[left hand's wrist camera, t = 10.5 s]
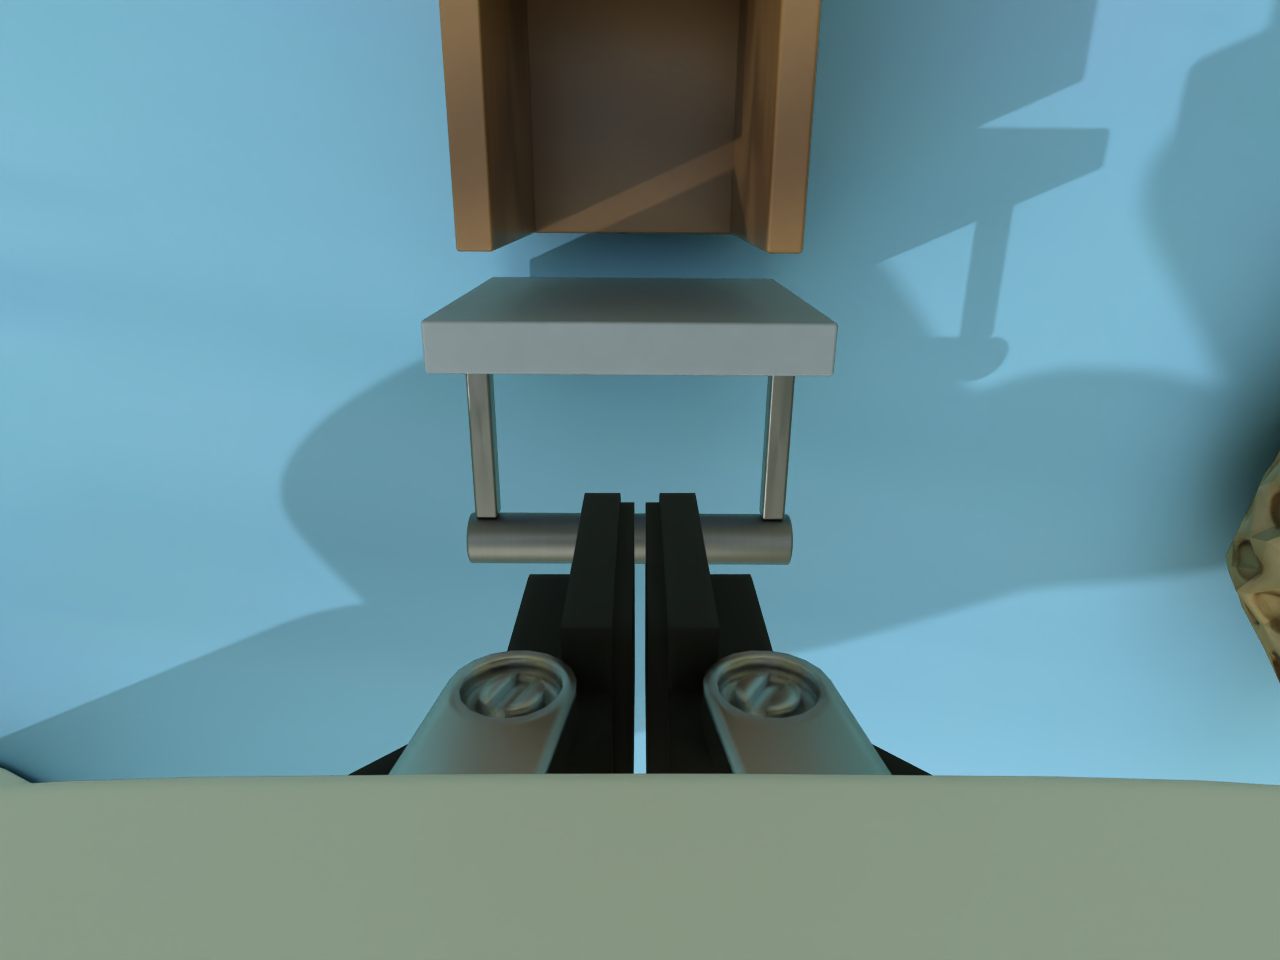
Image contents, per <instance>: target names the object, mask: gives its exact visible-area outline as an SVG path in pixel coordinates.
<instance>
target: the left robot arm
mask: <svg viewBox="0 0 1280 960" xmlns="http://www.w3.org/2000/svg"><path fill="white" fill-rule="evenodd" d="M634 697H635V563H634V502H621V496H620V493H585V495H584V500H583V506H582V511H581V517H580V522H579V528H578V533H577V539H576V544H575V550H574V555H573V561H572V566H571V572H570V574H530V575H529V578H528V581H527V584H526V588H525V591H524V594H523V598H522V601H521V605H520V608H519V612H518V615H517V619H516V622H515V626H514V629H513V633H512V636H511V640H510V643H509V647H508V650H507V651H506V652H501V653H495V654H490V655H488V656H485V657H482V658H479V659H477V660H474V661H472V662H471V663H469V664H467V665H466V666H464V667H462V668H461V669H459V670H458V671H457V673H456V674H455V675H454V676H453V677H452V678H451V679H450V680H449V682H448V683H447V685H446V686H445V688H444V689H443V691H442V692H441V694H440V695H439V697H438V699H437V700H436V702H435V703H434V705H433V706H432V708H431V709H430V711H429V713H428V714H427V716H426V717H425V719H424V720H423V722H422V723H421V725H420V726H419V728H418V730H417V731H416V733H415V734H414V736H413V737H412V739H411V740H410V742H409V743H408V744H407V745H405V746H403V747H401V748H400V749H398V750H396V751H394V752H392V753H390V754H388V755H386V756H384V757H382V758H380V759H378V760H376V761H374V762H372V763H370V764H369V765H367V766H365V767H363V768H361V769H359V770H357V771H355V772H353V773H351V774H349V775H347V776H257V777H184V778H152V779H121V780H89V781H59V782H45V783H30V782H28V781H27V780H25V779H23V778H21V777H19V776H17V775H15V774H14V773H12V772H10V771H8V770H6V769H3V768H0V960H1280V785H1264V784H1249V783H1233V782H1217V781H1197V780H1160V779H1124V778H1088V777H1044V776H933V775H931V774H929V773H927V772H925V771H923V770H921V769H919V768H917V767H915V766H913V765H912V764H910V763H908V762H906V761H904V760H902V759H900V758H898V757H896V756H894V755H892V754H890V753H888V752H886V751H884V750H882V749H880V748H879V747H877V746H875V745H873V744H872V743H871V742H870V740H869V739H868V737H867V736H866V734H865V733H864V731H863V730H862V728H861V726H860V725H859V723H858V722H857V720H856V719H855V717H854V716H853V714H852V712H851V711H850V709H849V708H848V706H847V705H846V703H845V702H844V700H843V699H842V697H841V695H840V694H839V692H838V691H837V689H836V688H835V686H834V685H833V683H832V682H831V680H830V679H829V678H828V677H827V676H826V675H825V674H824V673H823V671H822V670H821V669H819V668H818V667H816V666H814V665H813V664H811V663H809V662H808V661H806V660H803V659H801V658H798V657H795V656H792V655H790V654H785V653H779V652H774V651H773V650H772V647H771V643H770V640H769V636H768V633H767V629H766V626H765V622H764V619H763V615H762V612H761V608H760V605H759V601H758V598H757V594H756V591H755V588H754V584H753V581H752V578H751V575H750V574H710V572H709V566H708V561H707V555H706V550H705V544H704V539H703V533H702V528H701V522H700V517H699V511H698V506H697V500H696V495H695V493H660V496H659V502H646V563H645V697H646V774H634Z"/></svg>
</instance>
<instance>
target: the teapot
mask: <svg viewBox="0 0 1280 960" xmlns="http://www.w3.org/2000/svg"><path fill="white" fill-rule="evenodd" d="M1226 561H1227V566H1228V571H1229V574H1230V576H1231V579H1232V581H1233V584H1234V587H1235V589H1236V591H1237V593H1238V594H1239V598H1240V601H1241V604H1242V607H1243V609H1244V611H1245V613H1246V615H1247V617H1248V619H1249V621H1250V623H1251V624H1252V626H1253V628H1254V630H1255V632H1256V634H1257V636H1258V638H1259V640H1260V642H1261V643H1262V645H1263V647H1264V649H1265V651H1266V654H1267V656H1268V658H1269V660H1270V662H1271V664H1272V667H1273V669H1274V671H1275V673H1276V675H1277V678H1278V680H1279V682H1280V451H1279V453H1278V455H1277V457H1276V459H1275V461H1274V462H1273V464H1272V465H1271V466H1270V467H1269V468H1268V470H1267V471H1266V472H1265V474H1264V476H1263V478H1262V480H1261V482H1260V484H1259V487H1258V489H1257V492H1256V494H1255V496H1254V498H1253V500H1252V502H1251V504H1250V506H1249V508H1248V510H1247V512H1246V514H1245V516H1244V518H1243V520H1242V523H1241V525H1240V527H1239V529H1238V531H1237V533H1236V535H1235V538H1234V540H1233V542H1232V544H1231V546H1230V548H1229V550H1228V552H1227V554H1226Z"/></svg>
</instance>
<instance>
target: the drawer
mask: <svg viewBox="0 0 1280 960" xmlns="http://www.w3.org/2000/svg"><path fill="white" fill-rule="evenodd" d="M821 2H822V0H439V8H440V22H441V37H442V51H443V65H444V79H445V93H446V107H447V122H448V136H449V150H450V164H451V178H452V192H453V207H454V221H455V235H456V249H457V250H458V251H493V250H495V249H498V248H500V247H502V246H505V245H507V244H509V243H512V242H514V241H516V240H518V239H521V238H523V237H525V236H528V235H530V234H532V233H646V234H733V235H735V236H737V237H739V238H741V239H742V240H744V241H746V242H748V243H750V244H752V245H754V246H756V247H758V248H760V249H762V250H764V251H766V252H768V253H801V252H802V250H803V241H804V228H805V215H806V201H807V188H808V175H809V161H810V148H811V135H812V121H813V108H814V95H815V81H816V68H817V55H818V42H819V28H820V15H821ZM421 328H422V339H423V351H424V362H425V371H426V373H429V374H466V385H467V399H468V414H469V428H470V442H471V456H472V470H473V485H474V499H475V513H472V514H471V515H470V518H469V521H468V528H467V552H468V557H469V560H470V562H472V563H572V561H573V555H574V550H575V544H576V539H577V533H578V528H579V522H580V517H581V513H499V512H500V510H501V505H500V488H499V471H498V454H497V436H496V419H495V402H494V385H493V374H579V375H730V376H768V386H767V402H766V418H765V433H764V449H763V465H762V480H761V496H760V513H761V514H699V517H700V522H701V528H702V533H703V539H704V544H705V550H706V555H707V561H708V564H755V565H787V564H789V563H790V560H791V556H792V547H793V534H792V525H791V520H790V517H789V516H788V515H786V514H784V513H785V500H786V487H787V474H788V461H789V447H790V434H791V421H792V408H793V395H794V381H795V376H831V375H833V372H834V361H835V350H836V339H837V329H838V326H837V323H835V322H834V321H832V320H831V319H829V318H828V317H827V316H825V315H824V314H822V313H821V312H819V311H818V310H816V309H815V308H814V307H812V306H811V305H809V304H808V303H806V302H805V301H803V300H802V299H801V298H799V297H798V296H796V295H795V294H793V293H792V292H790V291H789V290H788V289H786V288H785V287H783V286H782V285H780V284H779V283H777V282H776V281H775V280H773V279H679V278H536V277H493V278H491V279H489V280H488V281H486V282H484V283H483V284H481V285H479V286H478V287H476V288H475V289H473V290H471V291H470V292H468V293H466V294H465V295H463V296H462V297H460V298H458V299H457V300H455V301H453V302H452V303H450V304H448V305H447V306H445V307H444V308H442V309H440V310H439V311H437V312H435V313H434V314H432V315H431V316H429V317H427V318H426V319H424V320H422V322H421ZM634 563H635V564H645V563H646V514H636V513H634Z"/></svg>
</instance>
